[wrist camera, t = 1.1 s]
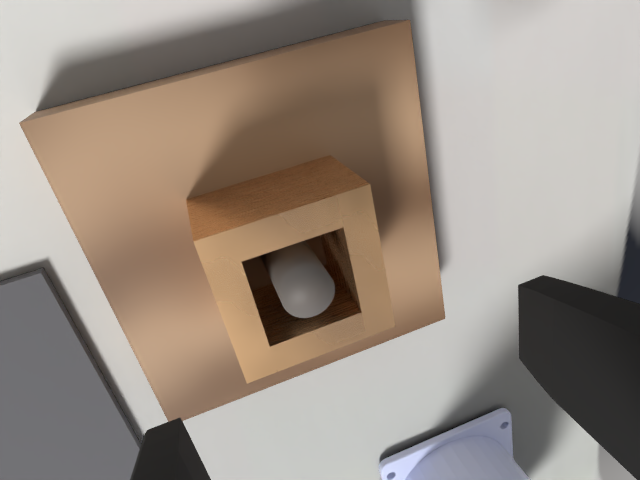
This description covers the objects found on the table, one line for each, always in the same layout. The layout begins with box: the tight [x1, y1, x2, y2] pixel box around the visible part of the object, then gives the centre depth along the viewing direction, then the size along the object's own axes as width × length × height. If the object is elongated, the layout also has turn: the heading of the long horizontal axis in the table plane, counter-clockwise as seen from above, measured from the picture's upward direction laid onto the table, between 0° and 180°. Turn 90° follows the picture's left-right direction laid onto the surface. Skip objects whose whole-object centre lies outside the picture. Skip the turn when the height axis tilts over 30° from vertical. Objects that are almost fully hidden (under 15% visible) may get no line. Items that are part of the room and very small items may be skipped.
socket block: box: [19, 20, 445, 422], centre depth 16 cm, size 12×12×6 cm
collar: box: [186, 155, 395, 384], centre depth 16 cm, size 5×5×4 cm
